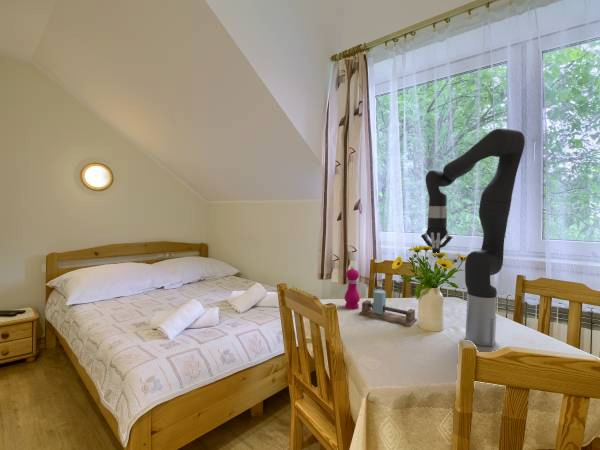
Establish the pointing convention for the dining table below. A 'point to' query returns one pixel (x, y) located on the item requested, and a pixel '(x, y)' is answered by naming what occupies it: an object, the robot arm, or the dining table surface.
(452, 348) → the dining table surface
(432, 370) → the dining table surface
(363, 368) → the dining table surface
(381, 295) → the sleeve
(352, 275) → the pepper mill
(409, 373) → the dining table surface
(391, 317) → the rail
